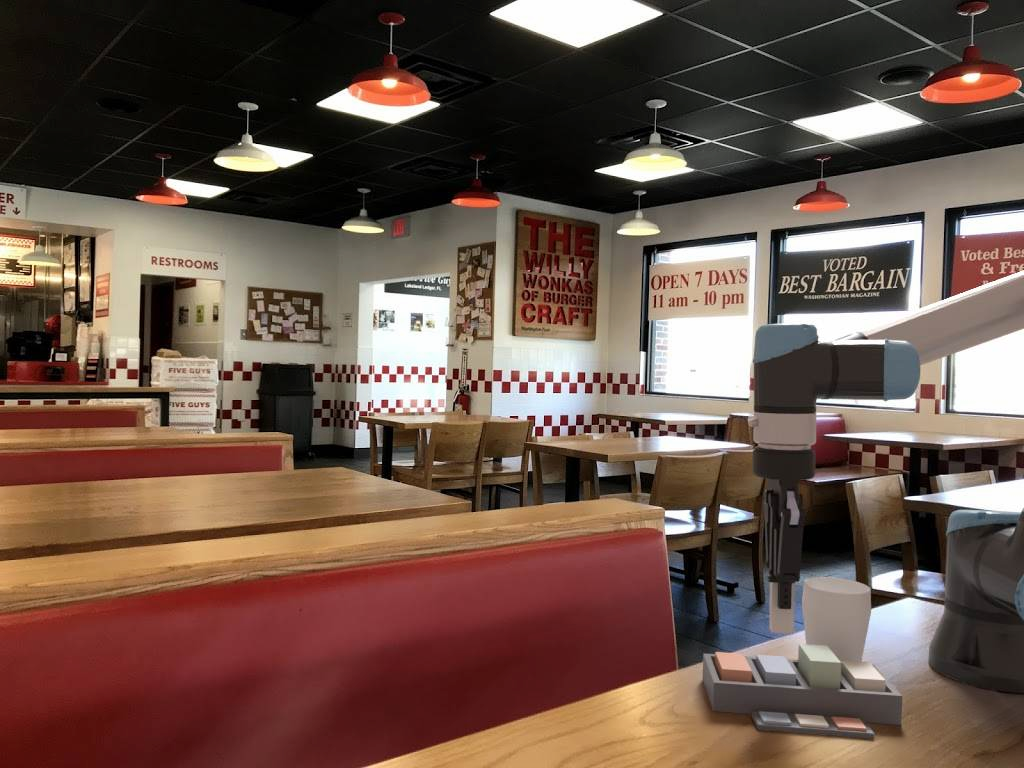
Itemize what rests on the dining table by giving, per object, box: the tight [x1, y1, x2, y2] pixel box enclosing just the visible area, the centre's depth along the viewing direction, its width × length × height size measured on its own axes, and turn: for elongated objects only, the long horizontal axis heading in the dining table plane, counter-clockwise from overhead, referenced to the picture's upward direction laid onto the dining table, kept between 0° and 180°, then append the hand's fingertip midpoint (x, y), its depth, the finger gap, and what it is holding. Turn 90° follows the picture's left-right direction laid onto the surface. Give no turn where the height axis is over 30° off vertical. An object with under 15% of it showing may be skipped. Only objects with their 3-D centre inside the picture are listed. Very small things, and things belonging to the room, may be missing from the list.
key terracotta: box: [714, 651, 752, 683], centre depth 102 cm, size 4×6×4 cm, turn 174°
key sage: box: [797, 643, 841, 689], centre depth 101 cm, size 4×6×4 cm, turn 174°
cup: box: [801, 576, 872, 662], centre depth 112 cm, size 9×9×12 cm
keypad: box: [702, 653, 903, 726], centre depth 101 cm, size 22×10×4 cm, turn 84°
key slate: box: [755, 654, 796, 686], centre depth 102 cm, size 4×6×4 cm, turn 174°
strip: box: [751, 711, 875, 740], centre depth 94 cm, size 13×4×1 cm, turn 84°
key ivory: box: [840, 660, 886, 692], centre depth 100 cm, size 4×6×4 cm, turn 174°
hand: (781, 631), depth 101 cm, fingers closed
